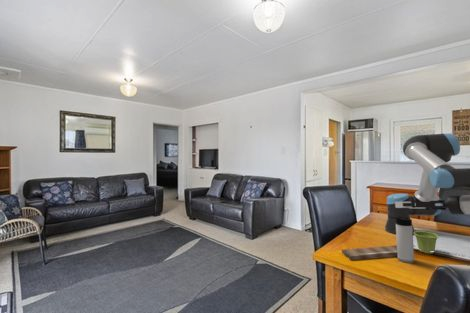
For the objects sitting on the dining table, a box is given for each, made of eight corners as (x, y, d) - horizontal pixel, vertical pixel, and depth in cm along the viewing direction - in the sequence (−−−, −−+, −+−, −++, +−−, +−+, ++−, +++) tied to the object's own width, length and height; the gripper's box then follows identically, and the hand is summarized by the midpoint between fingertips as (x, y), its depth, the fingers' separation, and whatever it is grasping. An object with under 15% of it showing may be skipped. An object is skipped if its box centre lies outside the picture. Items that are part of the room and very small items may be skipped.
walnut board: (398, 249, 120) (397, 245, 120) (410, 255, 112) (410, 251, 112) (342, 253, 118) (341, 249, 118) (350, 260, 110) (350, 256, 110)
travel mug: (393, 257, 110) (391, 215, 111) (406, 256, 111) (404, 214, 111) (404, 263, 104) (401, 219, 104) (418, 262, 105) (415, 218, 105)
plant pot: (433, 248, 119) (432, 231, 119) (443, 256, 110) (442, 237, 110) (411, 247, 122) (410, 230, 122) (419, 254, 113) (418, 236, 113)
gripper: (454, 214, 85) (390, 213, 102) (473, 214, 98) (414, 213, 116) (450, 193, 87) (388, 195, 104) (470, 196, 100) (412, 198, 117)
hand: (402, 205), depth 110 cm, fingers open, 13 cm apart
